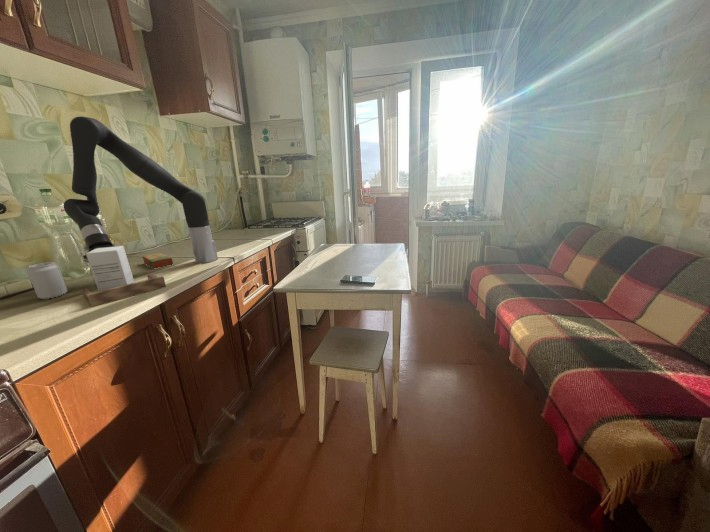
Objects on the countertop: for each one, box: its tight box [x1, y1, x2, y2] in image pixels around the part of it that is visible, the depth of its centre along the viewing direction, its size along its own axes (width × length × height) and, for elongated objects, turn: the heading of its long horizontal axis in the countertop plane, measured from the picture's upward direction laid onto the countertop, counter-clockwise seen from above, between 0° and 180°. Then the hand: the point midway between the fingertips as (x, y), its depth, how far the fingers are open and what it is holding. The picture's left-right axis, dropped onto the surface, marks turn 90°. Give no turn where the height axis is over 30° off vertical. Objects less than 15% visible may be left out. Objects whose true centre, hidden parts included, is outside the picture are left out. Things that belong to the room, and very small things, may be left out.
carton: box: [142, 252, 174, 269], centre depth 135 cm, size 8×16×4 cm, turn 49°
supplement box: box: [85, 245, 135, 292], centre depth 104 cm, size 9×9×15 cm
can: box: [26, 261, 68, 300], centre depth 98 cm, size 8×8×12 cm
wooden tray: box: [80, 273, 167, 308], centre depth 101 cm, size 21×15×4 cm
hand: (112, 272), depth 108 cm, fingers closed
